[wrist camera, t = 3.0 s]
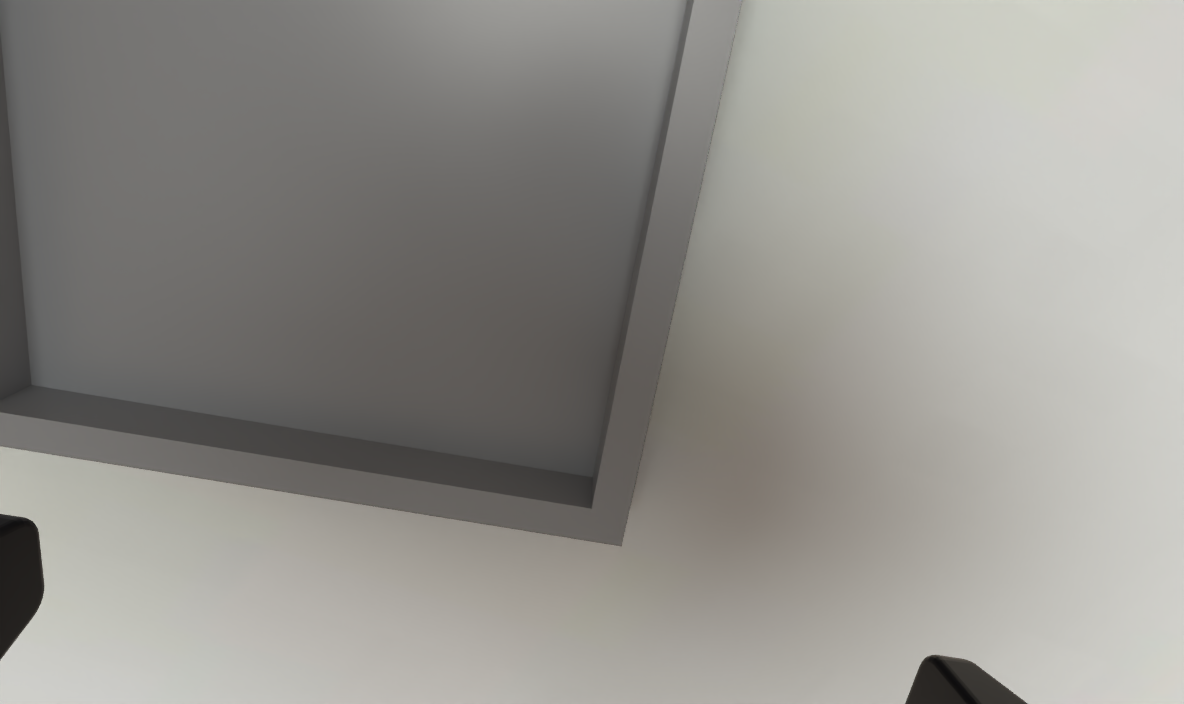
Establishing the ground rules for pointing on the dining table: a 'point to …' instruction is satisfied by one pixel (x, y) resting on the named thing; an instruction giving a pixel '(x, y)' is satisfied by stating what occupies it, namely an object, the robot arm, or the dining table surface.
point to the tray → (354, 242)
